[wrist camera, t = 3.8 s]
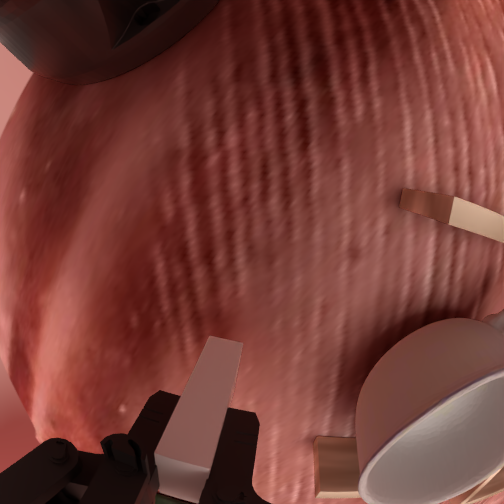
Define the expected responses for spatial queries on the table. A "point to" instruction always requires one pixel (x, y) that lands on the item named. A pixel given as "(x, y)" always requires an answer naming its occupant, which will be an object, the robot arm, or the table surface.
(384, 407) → the teacup
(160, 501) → the coffee jar
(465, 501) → the trap channel
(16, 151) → the table surface
